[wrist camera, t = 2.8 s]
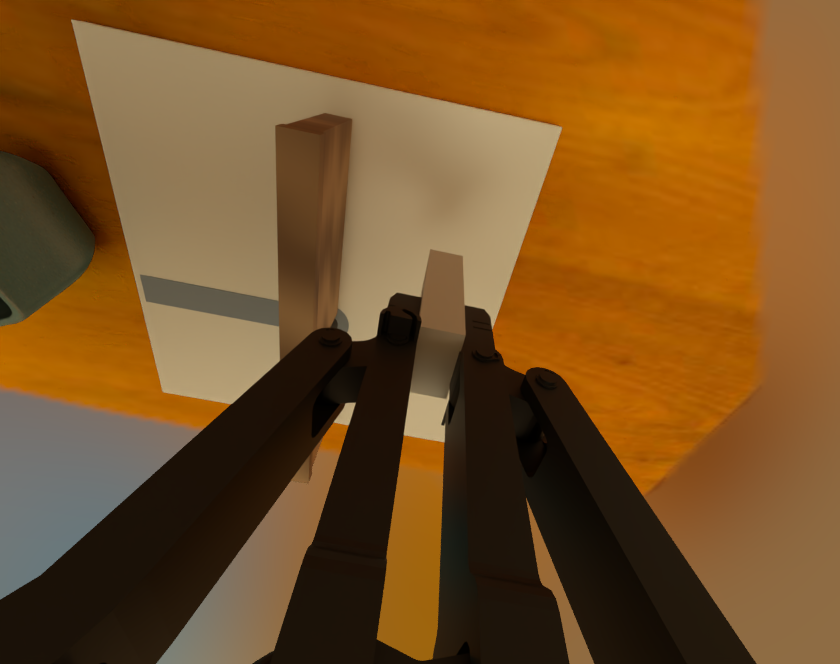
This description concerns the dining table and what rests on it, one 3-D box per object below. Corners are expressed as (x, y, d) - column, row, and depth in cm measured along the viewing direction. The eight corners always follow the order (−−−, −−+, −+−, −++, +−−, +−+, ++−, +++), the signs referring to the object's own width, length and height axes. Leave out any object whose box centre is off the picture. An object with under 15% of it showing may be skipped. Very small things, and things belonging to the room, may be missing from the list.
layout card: (86, 21, 21) (69, 19, 20) (558, 125, 22) (562, 127, 21) (169, 384, 35) (162, 392, 34) (452, 435, 36) (452, 444, 35)
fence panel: (339, 313, 28) (311, 373, 22) (314, 308, 28) (279, 367, 22) (355, 119, 21) (320, 135, 16) (322, 112, 21) (275, 125, 15)
